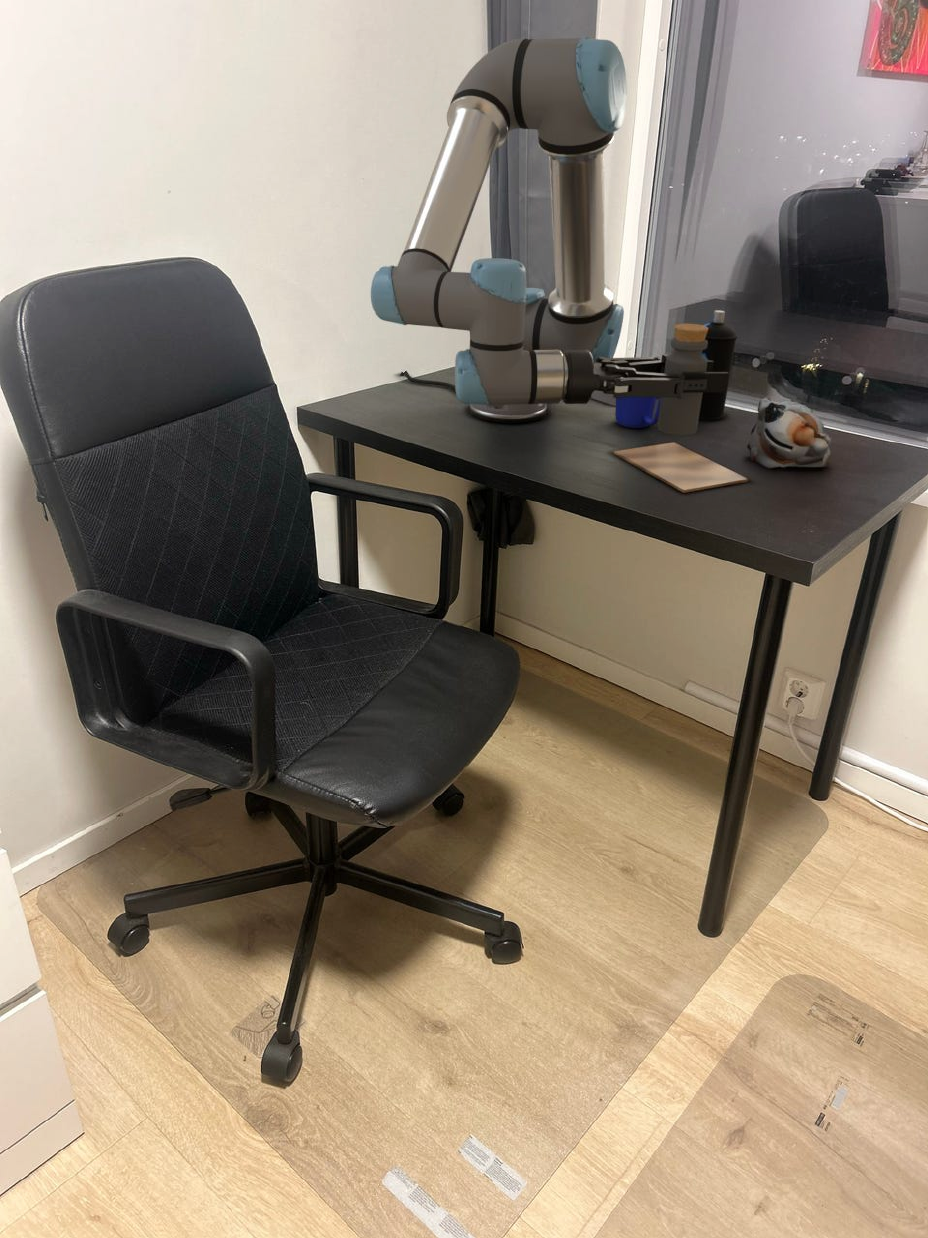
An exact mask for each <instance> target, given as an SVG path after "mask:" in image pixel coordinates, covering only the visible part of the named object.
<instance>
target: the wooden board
mask: <svg viewBox="0 0 928 1238" xmlns="http://www.w3.org/2000/svg"><path fill="white" fill-rule="evenodd" d="M613 454H614V455H615V456H617V457H619V458H621V459H622V460H624V461H626V462H627V463H630V464H631V465H633V466H634V467H636V468H638V469H639V470H642V471H643V472H645V473H647V474H649V475H651V476H652V477H654V478H656V479H658V480H659V481H662V482H663V483H665V484H667V485H669V486H670V487H672V488H674V489H676V490H677V491H679V492H681V493H683V494H685V493H686V494H687V493H691V492H698V491H702V490H709V489H714V488H720V487H725V486H731V485H737V484H742V483H748V482H749V478H747V477H745V476H743V475H741V474H739V473H737V472H736V471H734V470H731V469H729V468H727V467H725V466H723V465H722V464H719V463H717V462H715V461H713V460H710V459H709V458H708V457H707V458H706V457H704V456H703V455H701V454H698V453H697V452H695V451H692V450H690V449H688V448H686V447H684V446H682V445H680V444H678V443H677V442H674V441H673V442H668V443H660V444H654V445H653V444H652V445H647V446H640V447H634V448H627V449H619V450H614V451H613Z"/></svg>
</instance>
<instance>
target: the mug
mask: <svg viewBox="0 0 928 1238" xmlns="http://www.w3.org/2000/svg"><path fill="white" fill-rule="evenodd" d="M656 401H658V402H657V407H656V411H655V414H654V410H655V406H656ZM660 401H661V397H658V400H657V397H627V398H619V399H616V406H615V421H616V423H617V424H618V425H619V426H622V427H624V428H628V429H643V428H646V427H648V426H649V425H656V424H658V417H659V409H660ZM653 414H654V417H653Z"/></svg>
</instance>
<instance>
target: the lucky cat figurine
mask: <svg viewBox="0 0 928 1238" xmlns="http://www.w3.org/2000/svg"><path fill="white" fill-rule="evenodd" d="M824 431H825V424H824V423H823V421H822V420H821V418H820V417H819V416H818V415H817V413H814V411H813V410H812V409H810V408H809V407H808V406H807V405H805V404H801V403H799V402H797V401H790V400H782V401H779V402H776V403H775V402H772V401H771V399H770V397H764V398H762V399H760V400H759V402H758V406H757V421H756V423H755V424H754V426H753V427H752V430H751V432H750V435H749V439H748V443H747V445H746V448H747V449H748V450H749V453H750V460H751V461H752V462H755V463H757V464H759V465H761V466H763V467H765V468H766V469H770V470H771V469H775V468H780V467H781V468H786V467H792V468H793V467H794V468H795V467H797V468H798V467H799V468H822V469H824V468H825V467H826V466H827V464H828V460H829V459H830V457H831V454H832V453H831V450H830V445H831V441H832V437H830V436H829V435H828V433H824Z"/></svg>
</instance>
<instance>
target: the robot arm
mask: <svg viewBox="0 0 928 1238" xmlns="http://www.w3.org/2000/svg"><path fill="white" fill-rule="evenodd" d="M627 98H628V87H627V74H626V67H625V62H624V58H623V56H622V53H621V51H620V49H619V47H618V46H617V45H616V44H615V43H614V42H613V41H612V40H609V39H598V38H591V37H589V36H587V37H586V36H583V37H572V38H534V39H533V38H532V39H531V38H515V39H511V40H508V41H506V42H503V43H501V44H499V45H497V46H496V47H493V48H492V49H491V50H489V52H487V53H486V54H484V55H483V56H482V57H481V58H480V59H479V60H478V61H477V62H476V63H475V64H474V65H473V66H472V67H471V68H470V69H469V71H468V72H467V74H466V75H465V76H464V77H463V79H461V82H460V83H459V85H458V86H457V88H456V90H455V92H454V94H453V95H452V98H451V101H450V103H449V106H448V108H447V112H446V121H447V122H446V123H447V127H448V129H447V131H446V134H445V137H444V140H443V142H442V145H441V147H440V150H439V153H438V156H437V159H436V161H435V164H434V166H433V170H432V172H431V174H430V178H429V180H428V183H427V185H426V188H425V191H424V194H423V197H422V199H421V202H420V204H419V207H418V210H417V213H416V215H415V218H414V220H413V224H412V226H411V229H410V232H409V233H408V237H407V239H406V242H405V245H404V248H403V251H402V253H401V255H400V258H399V261H398V263H397V265H396V266H395V265H393V264H392V265H389V266H386V265H384V266H381V267H379V269H378V270H377V271H376V272H375V273H374V275H373V277H372V281H371V284H370V285H371V286H370V303H371V307H372V309H373V311H374V313H375V316H376V317H377V318H379V320H381V321H383V322H384V321H385V322H390V323H394V324H398V325H403V326H408V325H410V326H421V327H423V326H424V327H434V328H442V329H448V330H458V331H468V332H469V348H466V349H465V350H459V351H458V352H457V353H456V355H455V358H454V360H455V361H454V362H455V363H454V364H455V365H454V384H452V383H449V382H445V381H435V380H429V379H428V380H425V379H419V378H414V377H412V376H411V375H410V373H409V372H408V371H407V370H406V371H405V372H404V373H403V372H402V371H401V372H400V374H399V376H401V377H403V376H405V378H406V379H407V380H408V381H409V382H412V383H415V384H422V385H432V386H440V387H446V388H449V389H452V390H454V391H455V396H456V398H457V400H458V401H459V402H460V403H461V404H463V405H469V413H470V414H471V415H473V417H476V418H477V419H480V420H484V421H488V422H493V423H501V424H502V423H503V424H522V423H523V424H524V423H530V422H534V421H538V420H540V419H543V418H544V417H545V416H546V415H547V408H548V405H558V404H559V403H561V402H562V403H564V404H565V405H585V404H588V403H589V402H590V401H591V399H592V398H591V397H592V393H593V392H594V391H596V390H597V391H603V393H604V394H613V397H614V398H616V399H619V398H627V397H656V398H659V397H676V398H678V399H682V394H683V393H700V392H726V389H727V383H728V377H729V373H728V372H712V370H713V363H714V362H713V361H712V360H707V368H706V372H683V374H679V375H678V374H664V372H665V364H666V358H667V356H668V355H669V354H668V355H667V354H661V357H659V356H642V357H641V356H640V357H639V356H638V357H637V356H636V357H635V356H634V357H614V356H615V354H616V351H617V348H618V344H619V341H620V337H621V332H622V327H623V322H624V316H625V314H624V313H625V310H624V307H623V306H622V305H621V304H619V303H614V293H613V290H612V289H611V288H610V287H609V286H608V285H607V284H605V283H606V282H605V150H606V149H607V147H608V146H609V145H610V144H611V143H612V142H613V141H614V137H615V132H616V131H619V130H620V129H621V128H622V125H623V124H624V120H625V117H626V112H627V103H626V100H627ZM517 129H522V130H536V131H537V138H538V139H537V140H538V146H539V148H540V150H542V151H543V153H544V154H546V155H547V156H548V160H549V161H548V162H549V174H550V175H549V179H550V180H549V181H550V182H549V183H550V200H551V217H552V218H551V219H552V220H551V221H552V236H553V238H552V239H553V256H554V275H555V278H554V279H555V288H554V289H553V290H551V292H550V294H549V296H548V298H546V294H545V291H544V289H543V288H537V287H527V275H526V273H527V272H526V267H525V265H524V264H523V263H522V262H520V261H519V260H516V259H512V258H499V257H497V258H493V257H490V258H488V257H487V258H486V257H485V258H479V259H476V260H474V261H473V262H472V264H471V268H470V272H466V271H465V272H464V271H463V272H462V271H453V269H454V265H455V263H456V260H457V258H458V257H457V256H458V253H459V252H460V248H461V245H462V243H463V240H464V238H465V237H464V236H465V234H466V231H467V229H468V226H469V223H470V220H471V218H472V215H473V212H474V209H475V207H476V203H477V200H478V198H479V196H480V193H481V191H482V187H483V184H484V182H485V178H486V176H487V173H488V170H489V167H490V164H491V162H492V159H493V157H494V154H495V151H496V150H497V149H498V148H500V147H501V146H502V145H503V144H504V143H505V142H506V139H507V137H508V135H509V132H511V131H513V130H517Z"/></svg>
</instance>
